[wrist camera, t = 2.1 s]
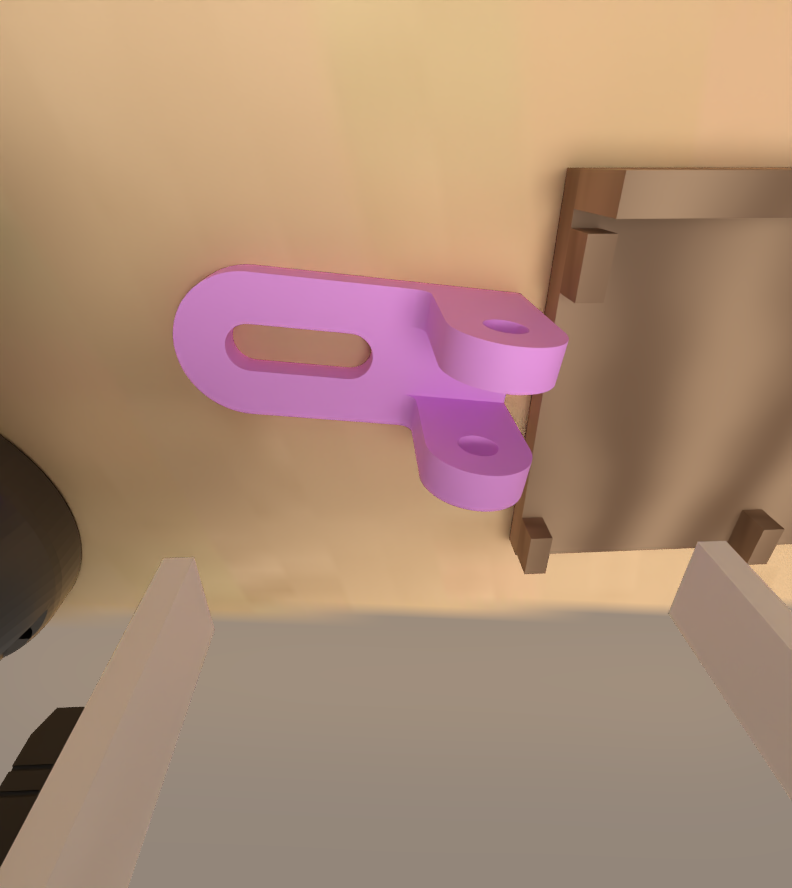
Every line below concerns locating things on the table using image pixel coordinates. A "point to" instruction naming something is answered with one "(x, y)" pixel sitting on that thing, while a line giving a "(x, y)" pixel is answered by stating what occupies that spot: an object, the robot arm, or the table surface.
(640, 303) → the ledge
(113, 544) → the table surface
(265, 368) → the bracket
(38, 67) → the table surface
